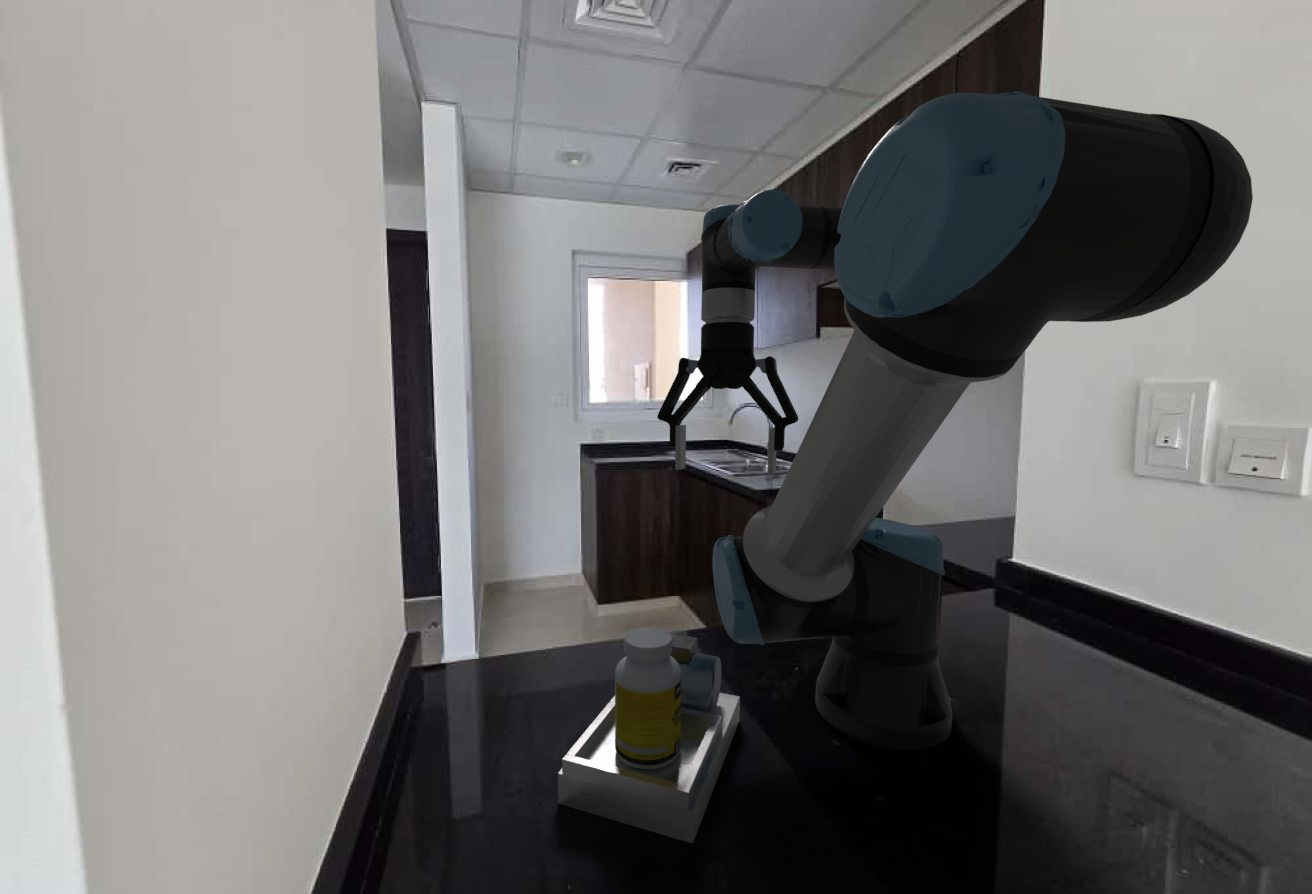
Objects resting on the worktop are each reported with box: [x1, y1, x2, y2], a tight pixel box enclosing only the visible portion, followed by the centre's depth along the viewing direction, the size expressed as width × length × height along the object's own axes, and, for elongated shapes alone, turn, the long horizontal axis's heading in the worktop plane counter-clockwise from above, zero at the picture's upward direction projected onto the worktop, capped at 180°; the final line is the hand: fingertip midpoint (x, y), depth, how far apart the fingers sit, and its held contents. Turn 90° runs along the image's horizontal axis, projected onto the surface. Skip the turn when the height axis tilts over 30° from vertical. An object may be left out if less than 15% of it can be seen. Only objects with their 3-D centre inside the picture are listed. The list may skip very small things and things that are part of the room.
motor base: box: [557, 633, 741, 844], centre depth 58 cm, size 19×13×10 cm
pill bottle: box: [614, 627, 681, 770], centre depth 54 cm, size 6×6×12 cm
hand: (724, 471), depth 81 cm, fingers open, 13 cm apart
